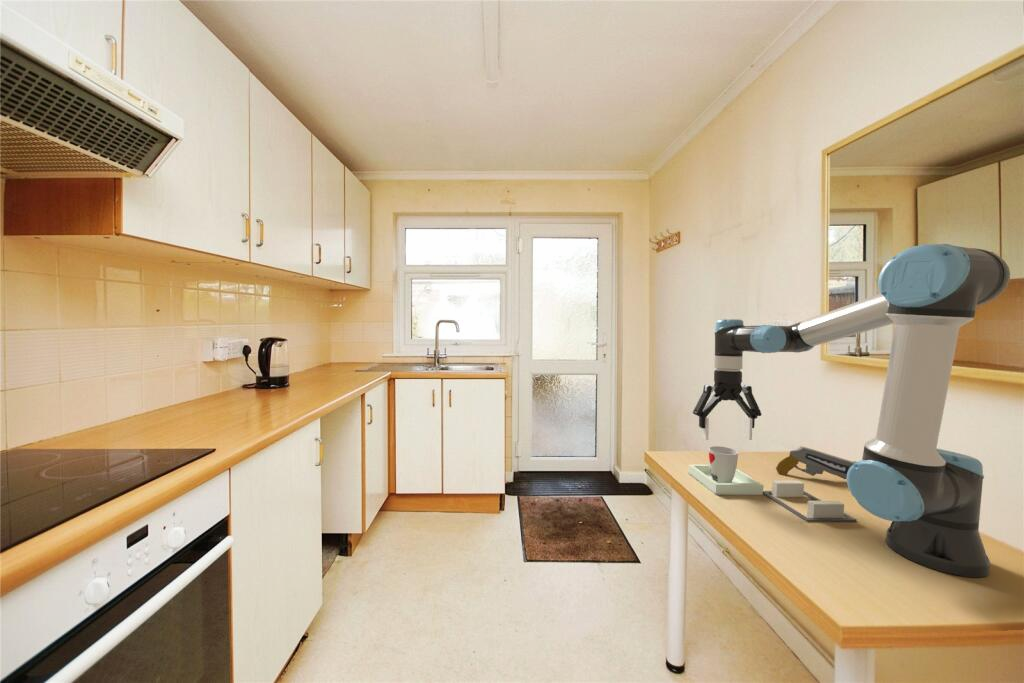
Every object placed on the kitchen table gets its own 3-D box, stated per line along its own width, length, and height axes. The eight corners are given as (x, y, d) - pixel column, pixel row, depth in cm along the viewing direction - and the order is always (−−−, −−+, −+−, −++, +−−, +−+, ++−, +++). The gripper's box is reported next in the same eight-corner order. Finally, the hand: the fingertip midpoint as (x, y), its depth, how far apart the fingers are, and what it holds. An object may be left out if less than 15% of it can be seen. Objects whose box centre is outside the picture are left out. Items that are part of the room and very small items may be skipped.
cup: (707, 475, 127) (708, 444, 126) (735, 479, 123) (737, 448, 123) (707, 484, 119) (708, 451, 119) (737, 489, 116) (739, 456, 115)
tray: (762, 494, 113) (763, 484, 113) (715, 494, 113) (716, 484, 113) (729, 473, 129) (730, 464, 129) (688, 473, 129) (688, 464, 129)
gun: (860, 513, 122) (886, 472, 119) (775, 473, 129) (797, 433, 127) (855, 509, 125) (880, 468, 122) (772, 469, 132) (794, 431, 130)
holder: (856, 521, 99) (857, 506, 98) (806, 521, 98) (807, 506, 98) (803, 492, 116) (804, 479, 115) (760, 492, 115) (761, 479, 115)
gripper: (759, 368, 124) (757, 435, 124) (682, 368, 123) (680, 435, 123) (776, 371, 116) (774, 441, 117) (694, 370, 115) (692, 442, 116)
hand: (726, 438), depth 120 cm, fingers open, 13 cm apart
